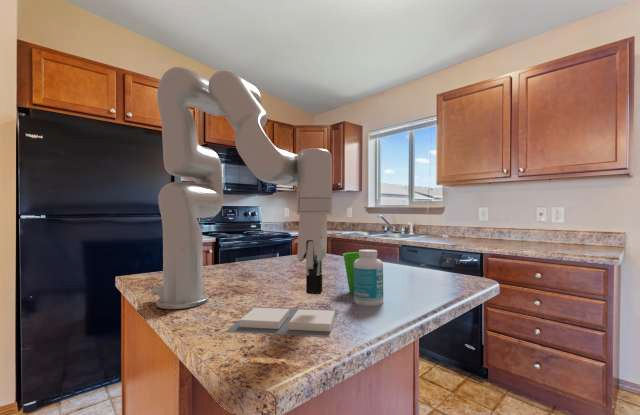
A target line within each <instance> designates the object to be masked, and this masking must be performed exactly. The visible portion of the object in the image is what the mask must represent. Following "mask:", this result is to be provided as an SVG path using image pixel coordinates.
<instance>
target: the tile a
mask: <svg viewBox="0 0 640 415" xmlns="http://www.w3.org/2000/svg"><path fill="white" fill-rule="evenodd" d="M278 308H279V307H276V308H255V307H254V309H253V308H252V309H251V310H250V311H249V312H247V313H248V314H247V313H246V314H245V315H244V316H243V317H242V318H241V317H240V319H239V320H240V327H241V328H258V329H279V328H280V327H281V326H282V325H283V323H284V322H285V321H286V319H287V318H288V317H289V316H290V309H278Z"/></svg>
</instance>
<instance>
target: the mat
mask: <svg viewBox="0 0 640 415" xmlns="http://www.w3.org/2000/svg"><path fill="white" fill-rule="evenodd" d="M254 308H278V309H290V316H289V317H288V318H287V319H286V321H285V322H284V323H283V325H282V326H281V327H280V328H279V329H258V328H241V327H240V319H239V320H238V321H237V322H235V323H234V324H233V325H232V326H230V327H229V328H228V329H227V330H226V331H225V333H238V334H239V333H240V334H257V335H258V334H259V335H275V336H293V337H298V336H299V337H315V338H330V335H331V332H332V330H333V327H334V323H335V320H336V317H337V315H338V312H339V309H328V308H327V309H323V308H298V307H296V308H294V307H273V306H270V307H269V306H255V307H254ZM254 308H252V309H254ZM298 309H303V310H329V311H335V319H334V322H333V325H332V328H331V331H330V332H317V331H297V330H290V329H289V321H290V320H291V319H292V317H293V316H294V315H295V313H296V312H297V311H298ZM248 313H249V312H247V313H246V314H248Z"/></svg>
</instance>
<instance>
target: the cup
mask: <svg viewBox="0 0 640 415" xmlns="http://www.w3.org/2000/svg"><path fill="white" fill-rule="evenodd" d="M342 256H343V259H344V267H345V273H346V278H347V284H348V290H349V293H350V294H353V295H354V261H355V260H356V259H359V258H360V256H359V251H358V252H354V251H353V252H344V253H342Z"/></svg>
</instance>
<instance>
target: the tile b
mask: <svg viewBox="0 0 640 415" xmlns="http://www.w3.org/2000/svg"><path fill="white" fill-rule="evenodd" d="M303 309H304V308H302V309H298V311H297V312H296V313H295V315H294V316H293V317H292V319H291V320H290V321H289V329H290V330H297V331H317V332H330V331H331V332H332V330H331V328H332V329H333V327H332V325H333V326H334V324H333V322H334V323H335V321H334V319H335V320H336V318H335V311H329V310H330V309H328V310H303Z"/></svg>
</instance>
